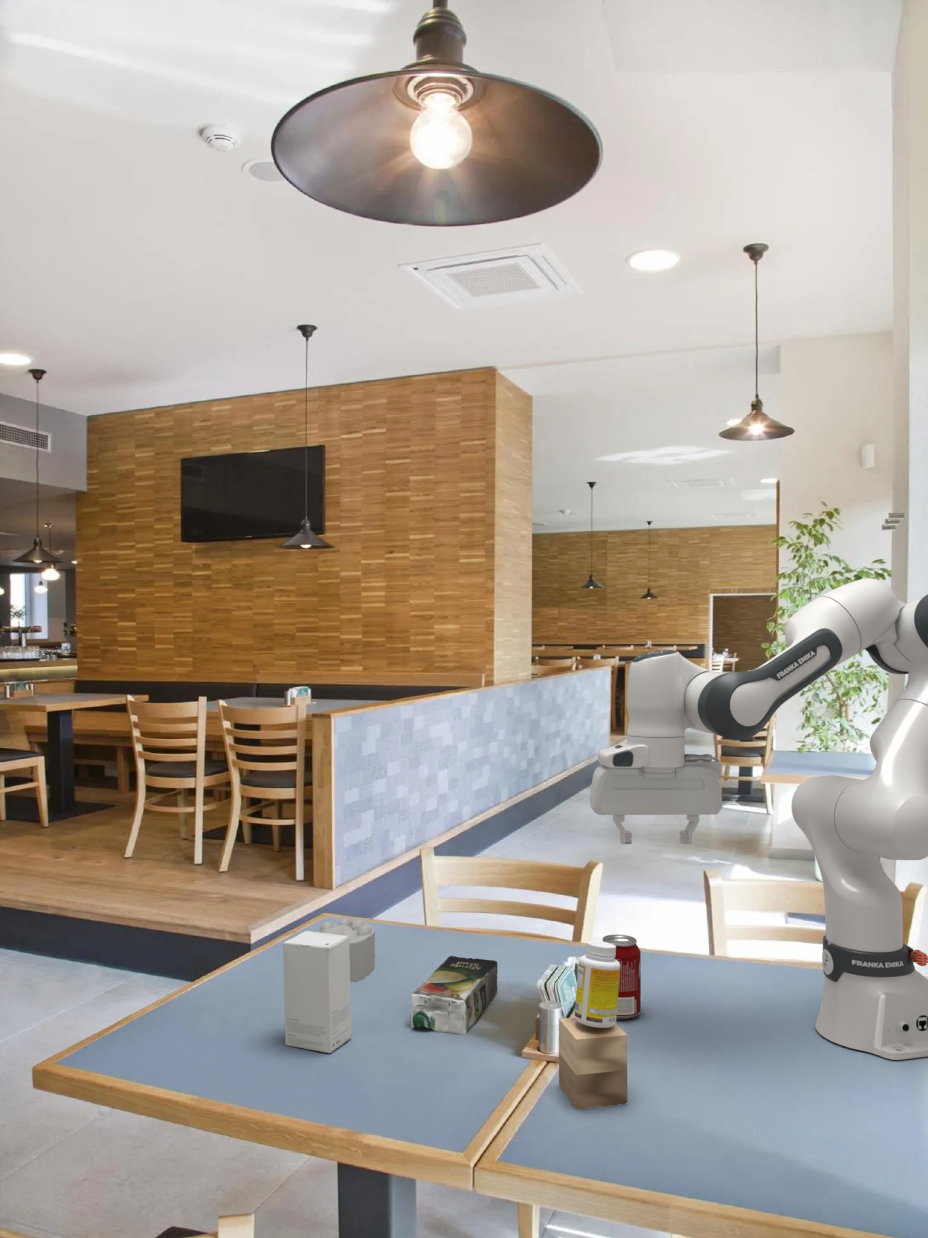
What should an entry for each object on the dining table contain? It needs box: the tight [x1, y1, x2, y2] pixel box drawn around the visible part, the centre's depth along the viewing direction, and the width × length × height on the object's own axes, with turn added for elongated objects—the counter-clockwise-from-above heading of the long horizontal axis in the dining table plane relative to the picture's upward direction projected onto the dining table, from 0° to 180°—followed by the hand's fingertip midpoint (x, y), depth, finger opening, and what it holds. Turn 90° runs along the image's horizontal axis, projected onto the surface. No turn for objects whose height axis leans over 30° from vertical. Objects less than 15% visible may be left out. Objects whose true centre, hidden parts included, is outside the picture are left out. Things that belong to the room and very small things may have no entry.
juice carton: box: [409, 955, 499, 1036], centre depth 154 cm, size 20×10×6 cm, turn 163°
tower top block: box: [558, 1017, 628, 1075], centre depth 125 cm, size 7×7×4 cm
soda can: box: [602, 933, 642, 1021], centre depth 153 cm, size 7×7×12 cm
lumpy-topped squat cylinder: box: [316, 917, 376, 983], centre depth 174 cm, size 10×13×9 cm
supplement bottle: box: [573, 940, 620, 1028], centre depth 126 cm, size 6×6×10 cm
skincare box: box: [282, 930, 353, 1054], centre depth 141 cm, size 8×7×16 cm
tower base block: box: [558, 1052, 628, 1110], centre depth 125 cm, size 7×7×4 cm
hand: (655, 843), depth 146 cm, fingers open, 8 cm apart
